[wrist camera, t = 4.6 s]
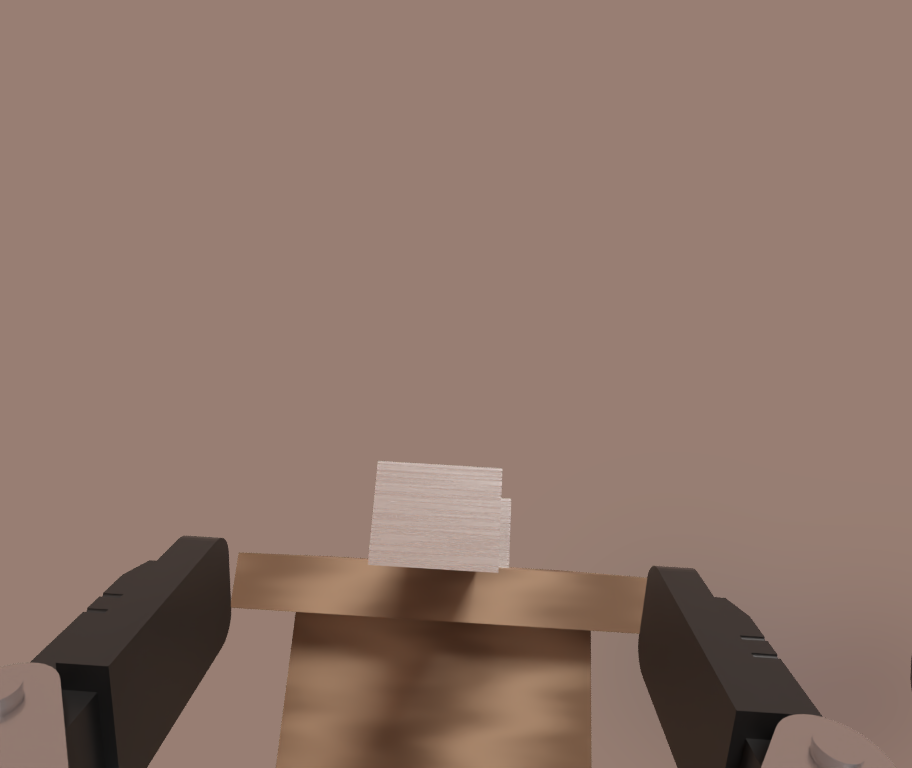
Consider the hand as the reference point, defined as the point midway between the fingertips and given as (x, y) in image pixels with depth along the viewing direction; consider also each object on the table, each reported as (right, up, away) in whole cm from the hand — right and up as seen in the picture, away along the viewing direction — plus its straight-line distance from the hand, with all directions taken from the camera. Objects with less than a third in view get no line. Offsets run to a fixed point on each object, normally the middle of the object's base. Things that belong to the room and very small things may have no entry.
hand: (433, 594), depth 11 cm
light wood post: (0, -4, +15) cm, 16 cm away
